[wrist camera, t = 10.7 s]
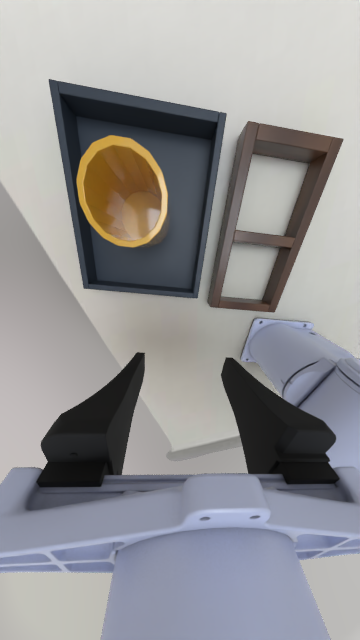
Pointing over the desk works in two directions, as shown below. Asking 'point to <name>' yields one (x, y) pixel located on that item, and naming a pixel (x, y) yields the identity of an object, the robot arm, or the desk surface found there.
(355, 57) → the desk surface
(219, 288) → the frame
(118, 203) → the cup
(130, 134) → the dark blue tray
